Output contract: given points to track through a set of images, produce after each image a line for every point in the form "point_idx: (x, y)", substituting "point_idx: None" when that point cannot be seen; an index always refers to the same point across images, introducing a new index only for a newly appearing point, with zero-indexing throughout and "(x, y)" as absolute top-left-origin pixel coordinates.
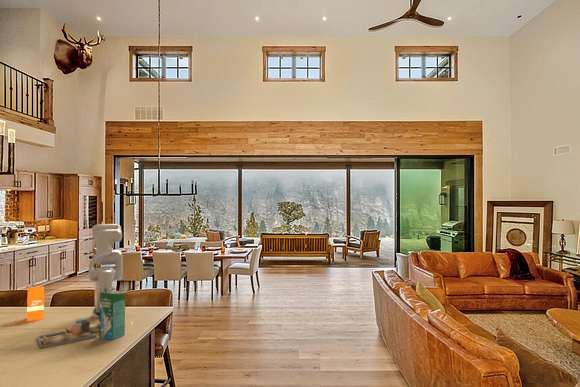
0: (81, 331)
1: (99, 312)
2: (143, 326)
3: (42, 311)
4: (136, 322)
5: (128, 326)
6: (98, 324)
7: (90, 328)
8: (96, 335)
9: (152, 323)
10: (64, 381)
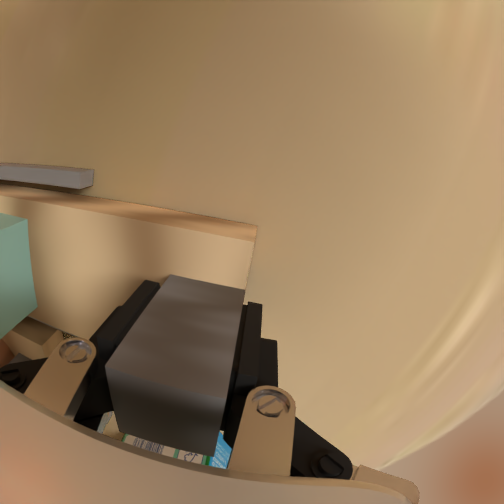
0: (13, 338)
1: (47, 402)
2: (422, 431)
3: None
4: (481, 334)
5: (387, 388)
6: (135, 276)
7: (58, 328)
8: (107, 421)
9: (478, 408)
10: None
